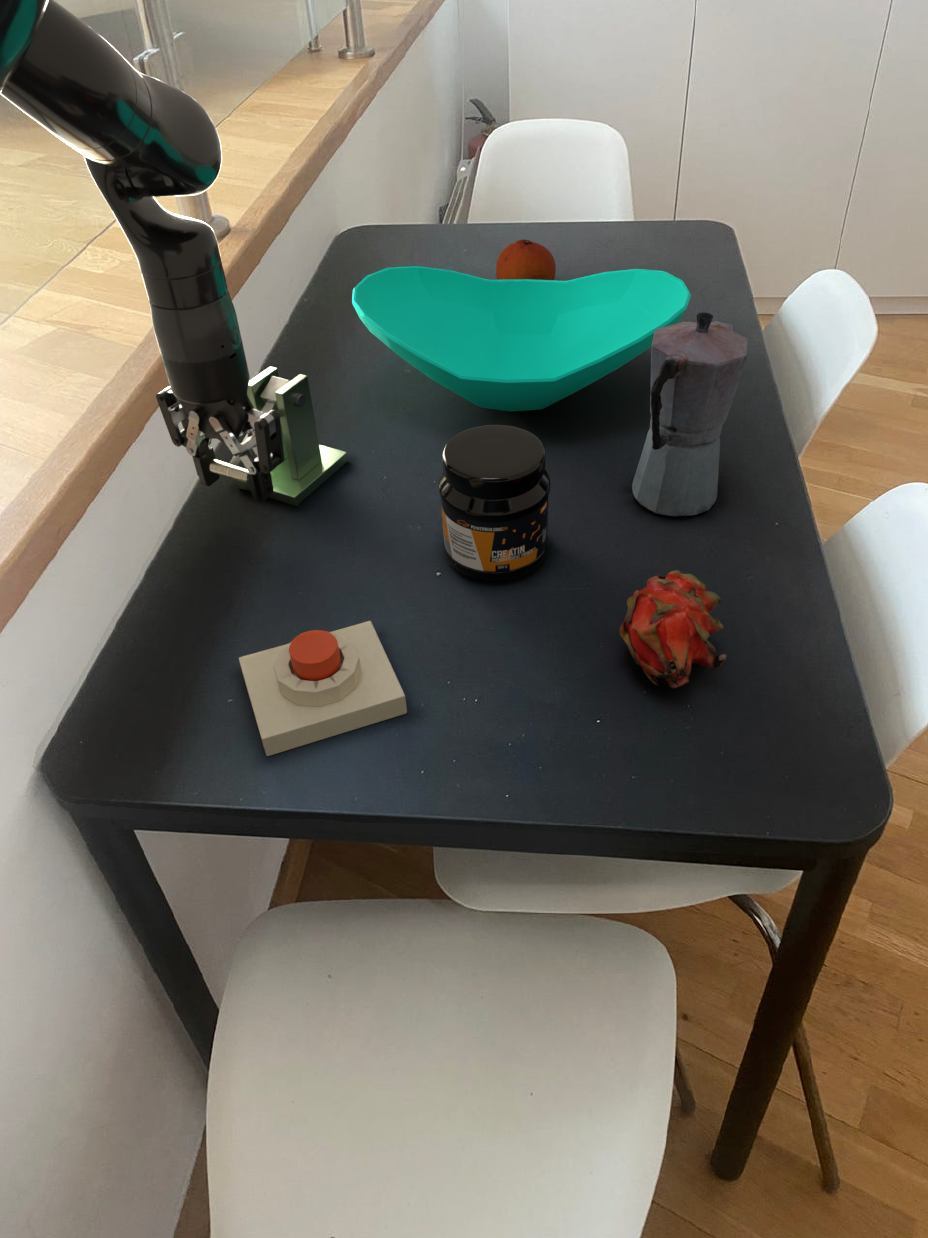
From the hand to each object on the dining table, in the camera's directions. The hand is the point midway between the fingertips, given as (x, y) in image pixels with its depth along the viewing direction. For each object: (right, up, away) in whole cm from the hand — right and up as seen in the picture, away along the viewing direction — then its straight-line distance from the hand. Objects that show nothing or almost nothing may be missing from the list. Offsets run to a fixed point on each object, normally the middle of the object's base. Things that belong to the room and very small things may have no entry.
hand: (237, 489), depth 96 cm
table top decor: (+31, +15, +20) cm, 40 cm away
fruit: (+33, +35, +42) cm, 64 cm away
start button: (+12, -17, -20) cm, 29 cm away
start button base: (+12, -20, -17) cm, 29 cm away
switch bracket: (+5, +3, +8) cm, 10 cm away
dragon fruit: (+42, -17, -16) cm, 48 cm away
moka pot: (+46, -1, +2) cm, 46 cm away
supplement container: (+27, -7, -4) cm, 28 cm away
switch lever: (+2, +6, +1) cm, 6 cm away
